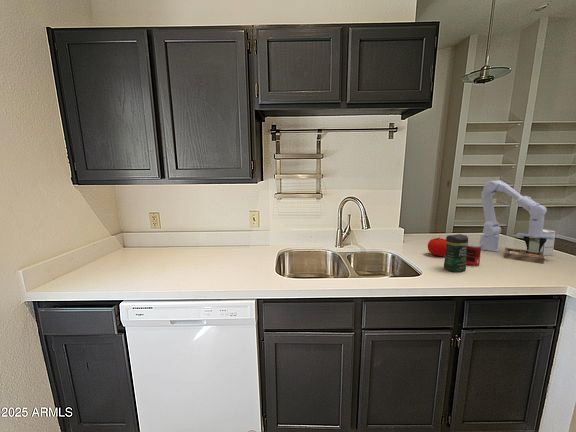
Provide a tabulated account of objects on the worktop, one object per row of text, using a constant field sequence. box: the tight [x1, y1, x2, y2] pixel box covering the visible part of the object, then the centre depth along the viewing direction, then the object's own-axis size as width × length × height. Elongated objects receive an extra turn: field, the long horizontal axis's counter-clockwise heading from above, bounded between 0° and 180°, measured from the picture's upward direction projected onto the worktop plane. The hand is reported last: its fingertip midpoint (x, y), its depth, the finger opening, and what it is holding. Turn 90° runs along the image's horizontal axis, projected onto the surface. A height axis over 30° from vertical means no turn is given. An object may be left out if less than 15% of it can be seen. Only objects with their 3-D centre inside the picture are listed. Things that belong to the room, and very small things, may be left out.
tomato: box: [427, 236, 446, 257], centre depth 150 cm, size 12×12×11 cm
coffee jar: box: [443, 233, 469, 273], centre depth 126 cm, size 10×8×19 cm
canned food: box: [466, 242, 481, 267], centre depth 134 cm, size 8×8×11 cm
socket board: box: [503, 247, 545, 264], centre depth 141 cm, size 16×14×3 cm
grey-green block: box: [528, 240, 540, 255], centre depth 140 cm, size 4×4×8 cm
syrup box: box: [535, 228, 556, 256], centre depth 145 cm, size 6×6×14 cm
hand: (533, 250), depth 140 cm, fingers closed on grey-green block, 4 cm apart
